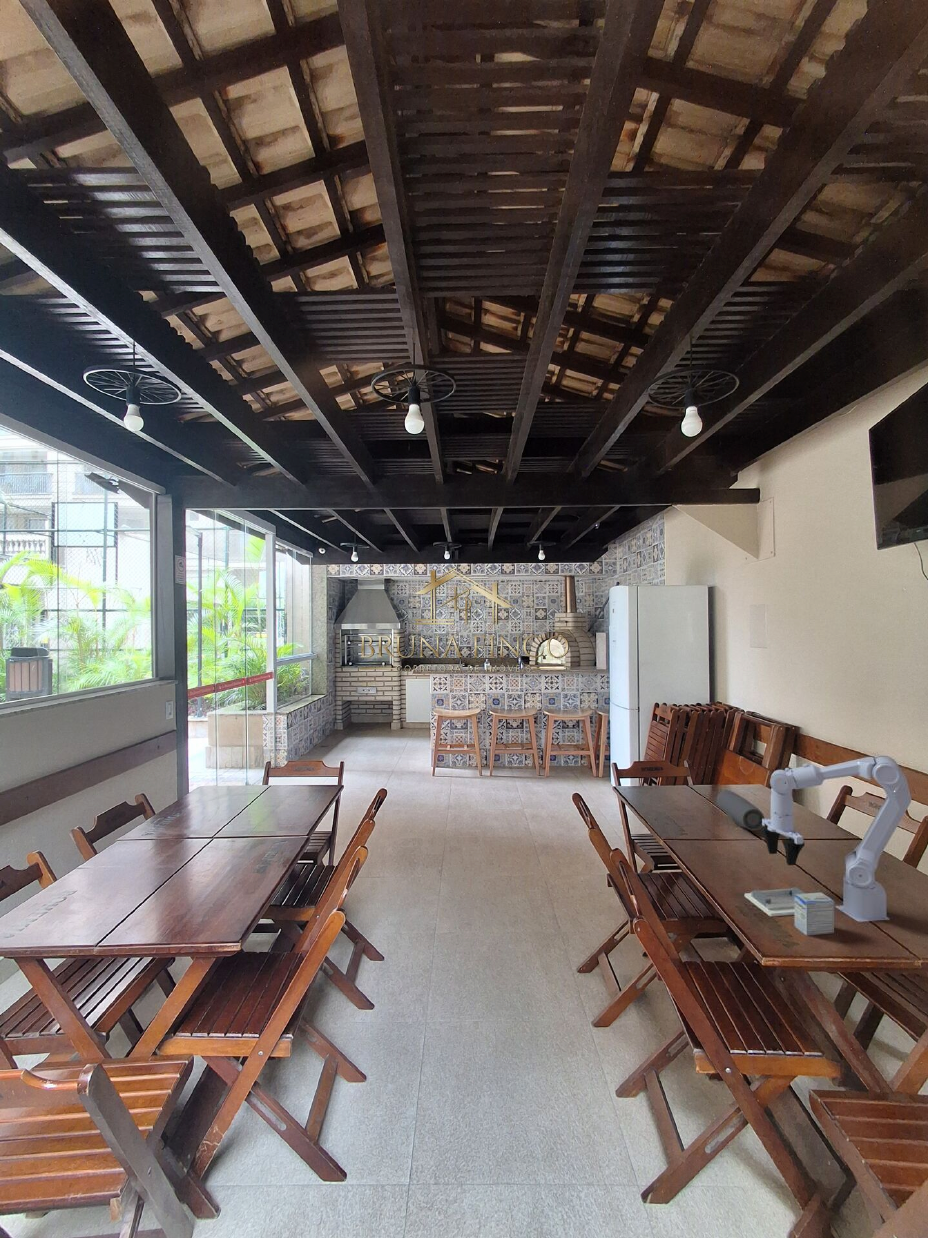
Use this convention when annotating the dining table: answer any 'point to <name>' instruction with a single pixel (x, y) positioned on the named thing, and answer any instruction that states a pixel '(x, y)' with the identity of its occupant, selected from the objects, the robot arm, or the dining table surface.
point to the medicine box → (814, 913)
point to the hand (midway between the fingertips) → (781, 859)
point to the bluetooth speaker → (740, 810)
